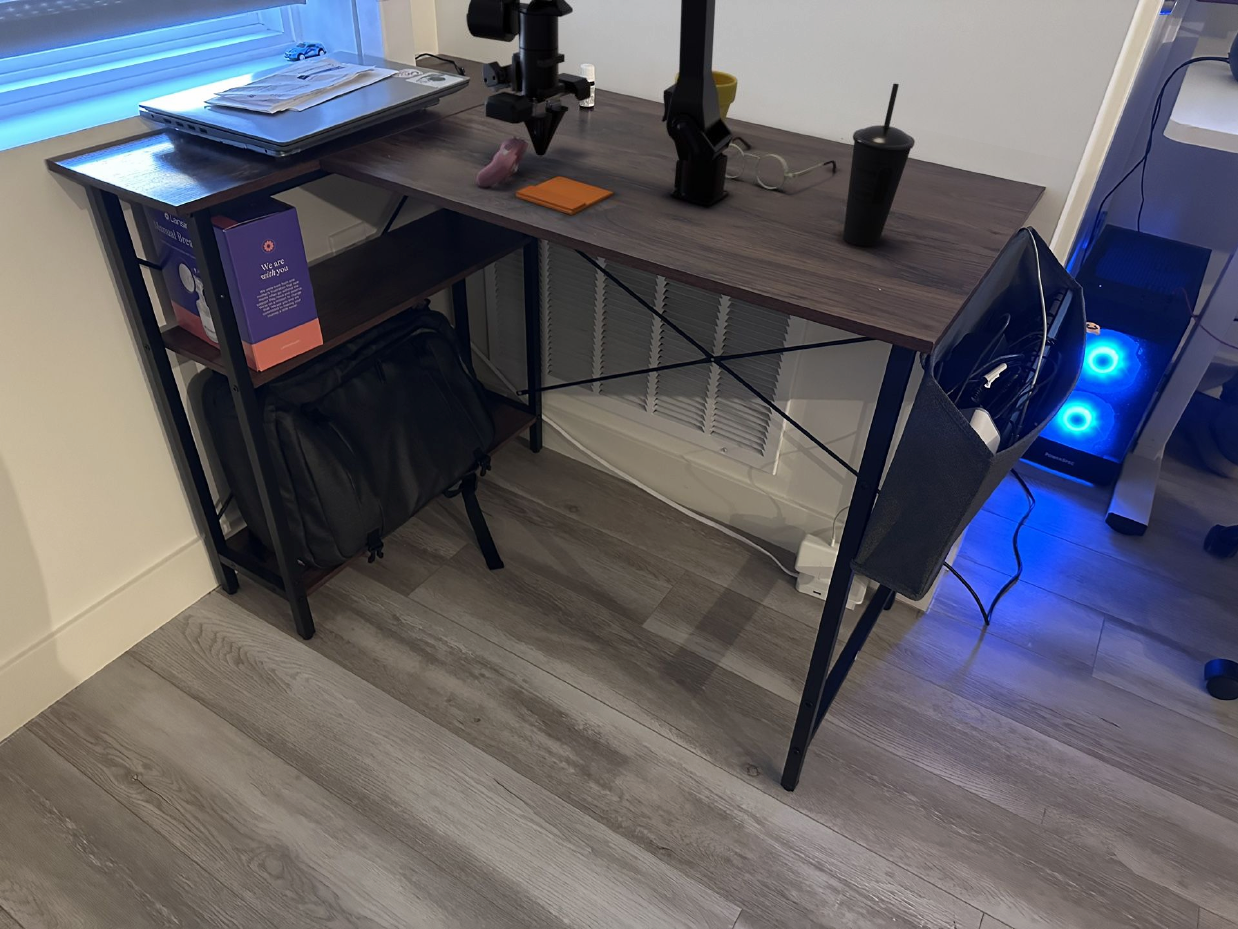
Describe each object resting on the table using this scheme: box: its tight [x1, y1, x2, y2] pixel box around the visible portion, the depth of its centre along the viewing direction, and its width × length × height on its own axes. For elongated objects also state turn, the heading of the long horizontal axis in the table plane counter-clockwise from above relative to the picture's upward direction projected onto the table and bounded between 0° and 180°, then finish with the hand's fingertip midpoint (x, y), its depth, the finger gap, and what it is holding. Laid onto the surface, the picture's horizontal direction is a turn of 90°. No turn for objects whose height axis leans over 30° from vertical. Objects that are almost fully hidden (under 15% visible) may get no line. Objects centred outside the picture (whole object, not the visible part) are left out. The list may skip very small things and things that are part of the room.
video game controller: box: [476, 135, 529, 188], centre depth 130 cm, size 10×5×7 cm, turn 170°
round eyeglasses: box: [725, 136, 837, 190], centre depth 137 cm, size 17×15×5 cm
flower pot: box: [674, 69, 738, 123], centre depth 148 cm, size 10×10×10 cm
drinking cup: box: [842, 83, 916, 248], centre depth 113 cm, size 8×8×20 cm
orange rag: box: [515, 175, 614, 216], centre depth 127 cm, size 10×10×1 cm
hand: (540, 155), depth 136 cm, fingers closed
